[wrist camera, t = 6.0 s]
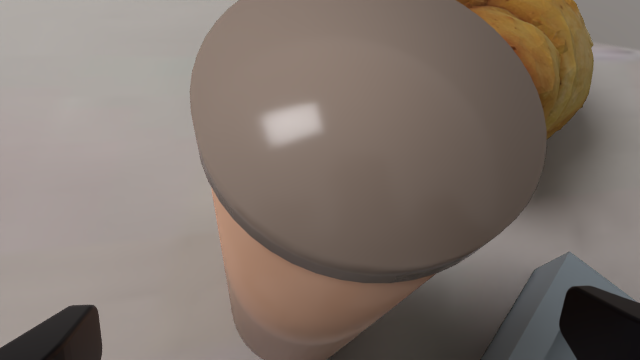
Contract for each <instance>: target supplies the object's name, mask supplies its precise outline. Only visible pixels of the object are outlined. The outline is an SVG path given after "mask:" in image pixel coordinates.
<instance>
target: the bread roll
mask: <svg viewBox="0 0 640 360" xmlns="http://www.w3.org/2000/svg"><path fill="white" fill-rule="evenodd" d="M456 1H458V2H459V3H461V4H463V5H464V6H466V7H467V8H468V9H470V10H471V11H473V12H474V13H476V14H477V15H478V16H480V17H481V18H482V19H483V20H484V21H486V22H487V23H488V24H489V25H490V26H491V27H493V28H494V29H495V30H496V31H497V32H498V33H499V34H500V35H501V37H502V38H503V39H504V40H505V41H506V42H507V43H508V44H509V45H510V47H511V48H512V49H513V50H514V52H515V53H516V54H517V56H518V57H519V58H520V60H521V61H522V63H523V65H524V66H525V68H526V69H527V71H528V73H529V74H530V76H531V79H532V81H533V83H534V85H535V87H536V89H537V92H538V94H539V98H540V101H541V104H542V107H543V111H544V117H545V123H546V131H547V139H548V138H549V137H551V136H552V135H553V134H554V133H555V132H556V131H558V130H560V129H561V128H562V127H563V126H564V125H565V124H566V123H567V122H568V121H569V120H570V119H571V118H572V117H573V116H574V115H575V113H576V112H577V111H578V110H579V109H580V108H582V107H583V104H584V102H585V101H586V98H587V96H588V94H589V90H590V85H591V79H592V72H593V62H594V60H593V54H592V50H591V47H592V46H593V42H592V40H591V37H590V34H589V33H588V31H587V29H586V27H585V24H584V20H583V18H582V16H581V14H580V12H579V9H578V7H577V4H576V3H575V2H574V1H573V0H456Z"/></svg>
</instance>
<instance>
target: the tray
mask: <svg viewBox="0 0 640 360" xmlns="http://www.w3.org/2000/svg"><path fill="white" fill-rule="evenodd" d="M587 285H588V286H594V287H596V288H599V289H602V290H605V291H607V292H610V293H613V294H616V295H619V296H621V297H624V298H627V299H630V300H632V301H635V300H634V299H632V298H631V297H630V296H628V295H627V294H626V293H624V292H623V291H622V290H620V289H619V288H618V287H616V286H615V285H614V284H612V283H611V282H610V281H608V280H607V279H606V278H604V277H603V276H602V275H600V274H599V273H598V272H596V271H595V270H594V269H592V268H591V267H590V266H588V265H587V264H586V263H584V262H583V261H582V260H580V259H579V258H578V257H576V256H575V255H574V254H572V253H571V252H568V253H566V254H564V255H562V256H560V257H558V258H556V259H554V260H552V261H550V262H548V263H546V264H544V265H543V266H541V267H539V268H537V269H535V270H534V272H533V273H532V275H531V277H530V278H529V280H528V282H527V283H526V285H525V287H524V288H523V290H522V292H521V293H520V295H519V297H518V298H517V300H516V302H515V303H514V305H513V307H512V308H511V310H510V312H509V313H508V315H507V317H506V318H505V320H504V322H503V323H502V325H501V327H500V328H499V330H498V332H497V333H496V335H495V337H494V338H493V340H492V342H491V343H490V345H489V347H488V348H487V350H486V352H485V353H484V355H483V357H482V358H481V360H577V359H576V357H575V356H574V354H573V352H572V351H571V349H570V347H569V346H568V344H567V342H566V341H565V339H564V337H563V336H562V334H561V331H560V327H559V319H560V315H561V311H562V307H563V303H564V299H565V295H566V292H567V290H568V289H569V288H570V287H572V286H587ZM635 302H636V301H635Z"/></svg>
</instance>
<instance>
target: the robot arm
mask: <svg viewBox="0 0 640 360" xmlns="http://www.w3.org/2000/svg"><path fill="white" fill-rule="evenodd" d="M559 327H560V331H561V334H562V336H563V337H564V339H565V341H566V342H567V344H568V346H569V347H570V349H571V351H572V352H573V354H574V356H575V357H576V359H577V360H640V303H638V302H635V301H632V300H630V299H627V298H624V297H621V296H619V295H616V294H613V293H610V292H607V291H605V290H602V289H599V288H596V287H594V286H588V285H587V286H572V287H570V288H569V289H568V290H567V292H566V295H565V299H564V303H563V307H562V311H561V315H560V319H559ZM101 355H102V339H101V331H100V323H99V314H98V310H97V308H96V307H95V306H94V305H72V306H69V307H67V308H65V309H64V310H62V311H60V312H59V313H57V314H55V315H54V316H52V317H50V318H49V319H47V320H46V321H44V322H42V323H41V324H39V325H37V326H36V327H34V328H32V329H31V330H29V331H27V332H26V333H24V334H23V335H21V336H19V337H18V338H16V339H14V340H13V341H11V342H9V343H8V344H6V345H4V346H3V347H1V348H0V360H101Z"/></svg>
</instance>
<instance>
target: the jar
mask: <svg viewBox="0 0 640 360" xmlns="http://www.w3.org/2000/svg"><path fill="white" fill-rule="evenodd" d="M190 103H191V114H192V120H193V125H194V130H195V135H196V140H197V145H198V150H199V155H200V159H201V163H202V166H203V169H204V171H205V174H206V176H207V179H208V182H209V184H210V185H211V188H212V194H213V200H214V206H215V212H216V218H217V224H218V230H219V236H220V242H221V249H222V255H223V261H224V267H225V273H226V279H227V285H228V291H229V297H230V303H231V309H232V315H233V319H234V323H235V326H236V329H237V331H238V333H239V335H240V337H241V338H242V340H243V341H244V343H245V344H246V345H247V346H248V347H249V348H250V350H251V351H252V352H254V353H255V354H256V355H257V356H259V357H260V358H262V359H264V360H327V359H328V358H330V357H331V356H333V355H334V354H335V353H337V352H338V351H339V350H340V349H342V348H343V347H344V346H345V345H347V344H348V343H349V342H350V341H352V340H353V339H354V338H355V337H357V336H358V335H359V334H361V333H362V332H363V331H364V330H366V329H367V328H368V327H369V326H371V325H372V324H373V323H374V322H376V321H377V320H378V319H379V318H381V317H382V316H383V315H384V314H386V313H387V312H388V311H390V310H391V309H392V308H393V307H395V306H396V305H397V304H398V303H400V302H401V301H402V300H403V299H405V298H406V297H407V296H408V295H410V294H411V293H412V292H413V291H415V290H416V289H417V288H419V287H420V286H421V285H422V284H424V283H425V282H426V281H427V280H429V279H430V278H431V277H432V276H434V275H435V274H436V273H439V272H441V271H443V270H445V269H448V268H450V267H452V266H454V265H456V264H458V263H459V262H461V261H462V260H464V259H465V258H467V257H469V256H470V255H472V254H473V253H475V252H476V251H477V250H479V249H480V248H481V247H483V246H484V245H485V244H486V243H488V242H489V241H490V240H492V239H493V238H494V237H496V236H497V235H498V234H500V233H501V232H502V231H503V230H504V229H505V228H506V227H507V226H509V225H510V224H511V223H512V222H513V221H514V220H515V219H516V218H517V217H518V215H519V214H520V213H521V212H522V210H523V209H524V208H525V207H526V205H527V204H528V203H529V201H530V199H531V197H532V195H533V193H534V191H535V190H536V188H537V186H538V183H539V180H540V177H541V174H542V171H543V168H544V162H545V156H546V149H547V131H546V123H545V117H544V111H543V107H542V104H541V101H540V98H539V94H538V92H537V89H536V87H535V85H534V83H533V81H532V79H531V76H530V74H529V73H528V71H527V69H526V68H525V66H524V65H523V63H522V61H521V60H520V58H519V57H518V56H517V54H516V53H515V52H514V50H513V49H512V48H511V47H510V45H509V44H508V43H507V42H506V41H505V40H504V39H503V38H502V37H501V35H500V34H499V33H498V32H497V31H496V30H495V29H494V28H493V27H491V26H490V25H489V24H488V23H487V22H486V21H484V20H483V19H482V18H481V17H480V16H478V15H477V14H476V13H474V12H473V11H471V10H470V9H468V8H467V7H466V6H464V5H463V4H461V3H459V2H458V1H456V0H239V1H237V2H236V3H235V4H234V5H232V6H231V7H230V8H229V9H228V10H227V11H226V12H225V13H224V14H223V15H222V16H221V17H220V18H219V19H218V20H217V21H216V23H215V24H214V25H213V27H212V28H211V30H210V31H209V32H208V34H207V35H206V37H205V39H204V41H203V43H202V45H201V47H200V49H199V51H198V54H197V57H196V60H195V64H194V67H193V70H192V78H191V86H190Z"/></svg>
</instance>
